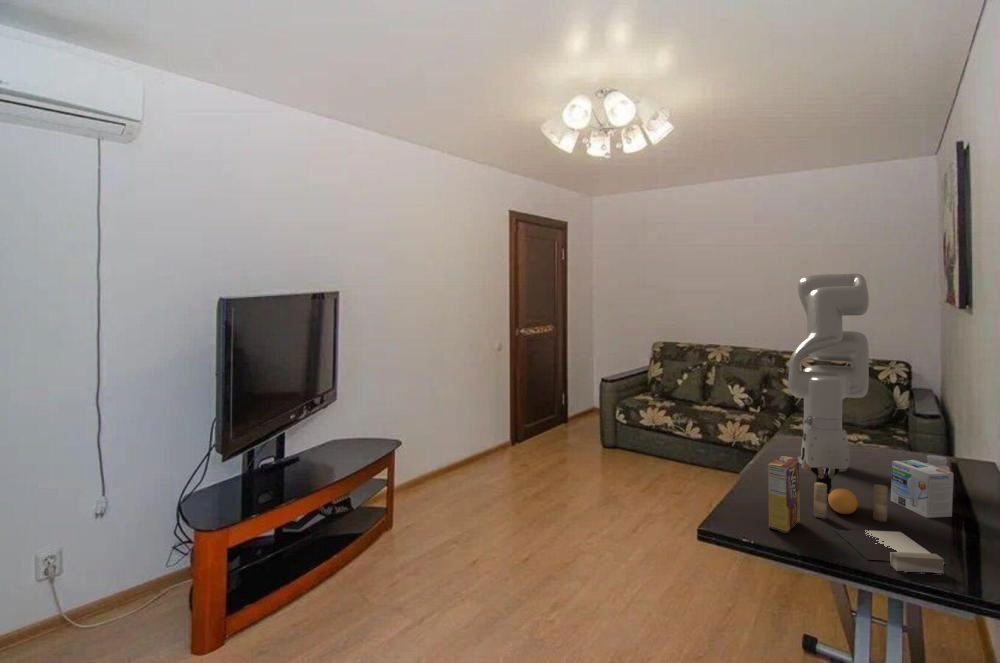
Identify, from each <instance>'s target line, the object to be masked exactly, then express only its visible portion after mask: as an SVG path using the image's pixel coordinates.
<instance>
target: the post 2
mask: <svg viewBox="0 0 1000 663" xmlns="http://www.w3.org/2000/svg"><path fill="white" fill-rule="evenodd" d="M888 489H889V488H888V486H886V485H884V484H874V485H873V503H872V504H873V505H872V506H873V508H872V509H873V510H872V519H873V520H874V519H875V521H876V520H877V522H880V523H881V522H882V523H886V522H887V521H888V520H887V519H888Z"/></svg>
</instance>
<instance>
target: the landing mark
mask: <svg viewBox="0 0 1000 663" xmlns="http://www.w3.org/2000/svg"><path fill="white" fill-rule="evenodd" d="M864 530H865V532H866V531H867V532H866V533H865V534H867V533H869V534H867V535H870V536H873V537H876V538H879V540H876V541H879V542H878V543H880V544H884V546H885V547H887V546H890V547H888V548H892V549H894V550H896V551H897V552H908V553H927V554H932V553H931V552H930V551H928V550H927V549H926V548H924V547H923V546H921V545H920V544H918V543H917V542H915V540H913V539H911V538H910V537H909V536H907V535H905V534H904V533H903V532H901V531H890V530H889V531H888V530H887V531H886V530H869V531H868V530H867V529H864ZM871 534H872V535H871ZM867 535H866V536H867ZM870 536H869V537H870ZM873 537H872V538H873ZM876 538H875V539H876ZM882 541H884V542H882ZM875 544H877V543H875Z"/></svg>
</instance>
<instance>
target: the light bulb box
mask: <svg viewBox="0 0 1000 663" xmlns="http://www.w3.org/2000/svg"><path fill="white" fill-rule="evenodd" d="M890 482H891V483H890V484H891V485H890V487H891V488H890V502H892V503H894V504H897V505H898V506H901V507H903V508H904V509H907V510H909V511H912V512H914V513H916V514H918V515H919V516H922V517H925V518H927V519H928V518H929V519H930V518H949V517H951V518H952V517H953V497H954V496H953V495H954V494H953V493H954V472H951V471H950V472H949V471H946V470H943V469H940V468H937V467H934V466H931V465H928V464H925V462H921V461H919V460H916V459H908V460H892V461H891V481H890Z"/></svg>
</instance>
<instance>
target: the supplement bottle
mask: <svg viewBox="0 0 1000 663" xmlns="http://www.w3.org/2000/svg"><path fill="white" fill-rule="evenodd" d="M926 461H927V462H926V463H925V462H924V463H925V464H928V465H931V466H934V467H937V468H940V469H943V470H946V471H949V472H951V469H950V467H949V466H948V465H947V464H948V463H947V462H948V459H947V457H945V456H942V455H936V454H935V455H934V454H928V455H926Z"/></svg>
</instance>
